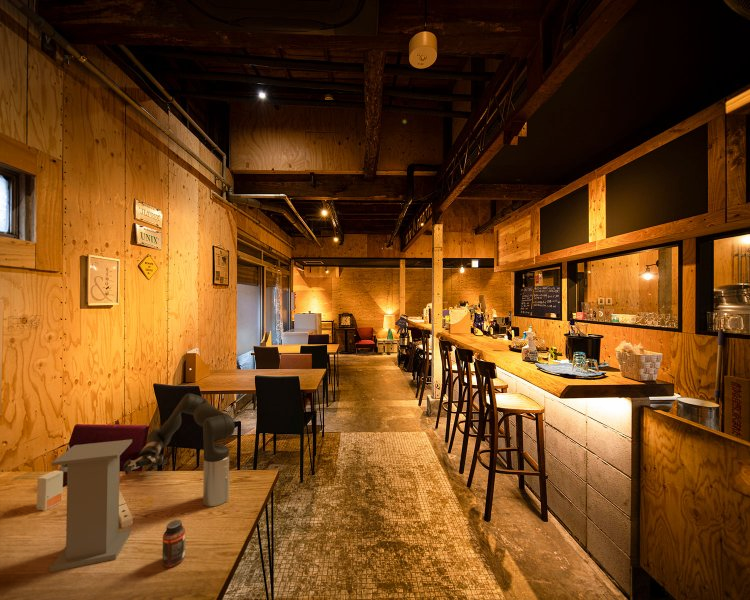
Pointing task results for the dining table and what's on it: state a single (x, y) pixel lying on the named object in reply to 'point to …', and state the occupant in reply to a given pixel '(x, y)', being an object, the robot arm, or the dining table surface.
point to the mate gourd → (64, 472)
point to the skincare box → (49, 490)
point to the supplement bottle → (173, 544)
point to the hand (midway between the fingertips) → (138, 471)
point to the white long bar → (124, 512)
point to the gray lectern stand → (92, 504)
